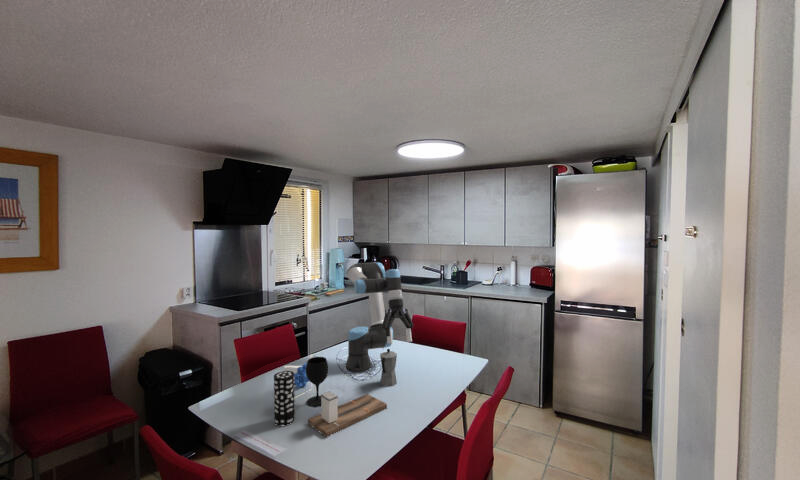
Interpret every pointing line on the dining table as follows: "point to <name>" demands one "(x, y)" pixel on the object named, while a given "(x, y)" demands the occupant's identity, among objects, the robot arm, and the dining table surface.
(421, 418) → the dining table surface
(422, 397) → the dining table surface
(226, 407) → the dining table surface
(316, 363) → the wine glass
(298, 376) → the grapes
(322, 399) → the fader
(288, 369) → the napkin holder
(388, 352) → the coffeepot
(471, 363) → the dining table surface
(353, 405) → the brown flat wooden board
